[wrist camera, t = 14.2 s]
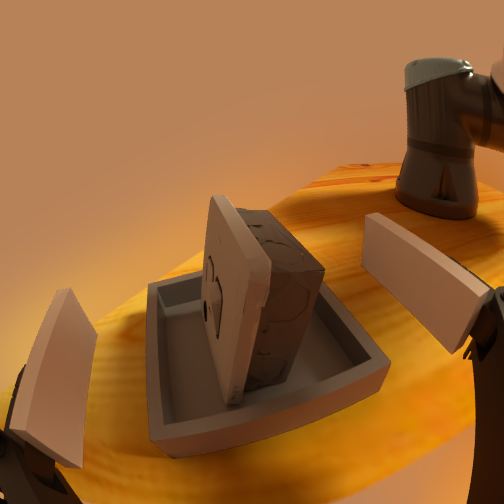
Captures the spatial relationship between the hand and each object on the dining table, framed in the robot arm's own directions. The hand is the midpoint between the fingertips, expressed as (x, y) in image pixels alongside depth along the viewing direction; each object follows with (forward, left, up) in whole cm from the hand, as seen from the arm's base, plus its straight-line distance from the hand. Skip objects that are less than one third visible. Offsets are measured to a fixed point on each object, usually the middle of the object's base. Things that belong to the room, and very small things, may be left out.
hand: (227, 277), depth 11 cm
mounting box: (-1, -3, -9) cm, 9 cm away
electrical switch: (-1, -3, -8) cm, 9 cm away
